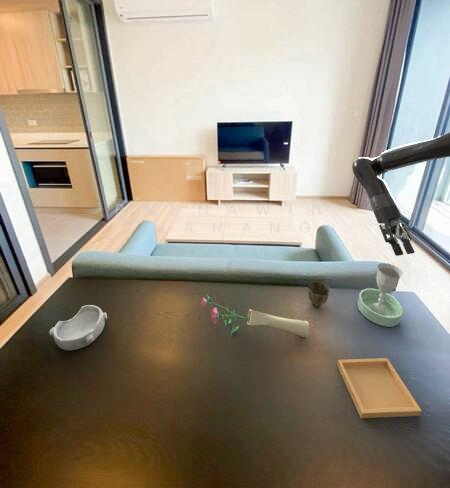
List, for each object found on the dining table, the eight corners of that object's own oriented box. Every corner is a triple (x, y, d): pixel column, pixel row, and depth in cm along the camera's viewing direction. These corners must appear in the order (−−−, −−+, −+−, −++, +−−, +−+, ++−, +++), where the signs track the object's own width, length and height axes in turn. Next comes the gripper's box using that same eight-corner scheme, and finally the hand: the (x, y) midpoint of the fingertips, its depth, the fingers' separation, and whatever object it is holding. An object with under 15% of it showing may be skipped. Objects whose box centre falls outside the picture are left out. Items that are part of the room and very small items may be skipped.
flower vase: (298, 359, 79) (193, 337, 78) (294, 320, 89) (200, 300, 88) (313, 347, 72) (197, 322, 71) (307, 306, 81) (205, 283, 80)
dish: (46, 345, 76) (41, 334, 74) (82, 310, 88) (79, 299, 86) (83, 359, 72) (79, 348, 70) (115, 320, 84) (113, 310, 82)
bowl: (383, 297, 94) (386, 287, 93) (408, 327, 82) (412, 317, 80) (350, 297, 94) (352, 288, 92) (370, 328, 82) (373, 318, 80)
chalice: (369, 316, 85) (381, 274, 79) (364, 301, 92) (374, 261, 85) (392, 320, 84) (407, 278, 77) (385, 304, 90) (398, 265, 84)
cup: (301, 304, 91) (304, 287, 88) (311, 293, 96) (314, 277, 93) (321, 316, 86) (324, 298, 83) (329, 304, 91) (333, 287, 88)
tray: (385, 362, 71) (387, 358, 70) (419, 415, 59) (421, 410, 59) (336, 364, 71) (337, 359, 70) (360, 418, 59) (362, 413, 58)
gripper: (385, 203, 79) (409, 253, 73) (404, 204, 87) (427, 250, 81) (364, 211, 85) (383, 258, 78) (383, 212, 93) (402, 255, 86)
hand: (405, 254), depth 80 cm, fingers open, 8 cm apart
